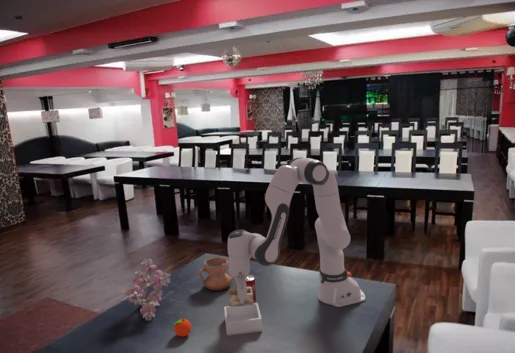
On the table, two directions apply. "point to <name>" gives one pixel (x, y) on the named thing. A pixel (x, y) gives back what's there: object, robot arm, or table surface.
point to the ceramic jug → (216, 274)
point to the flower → (138, 290)
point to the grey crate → (243, 319)
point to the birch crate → (235, 301)
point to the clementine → (182, 327)
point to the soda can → (251, 285)
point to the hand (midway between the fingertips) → (241, 298)
